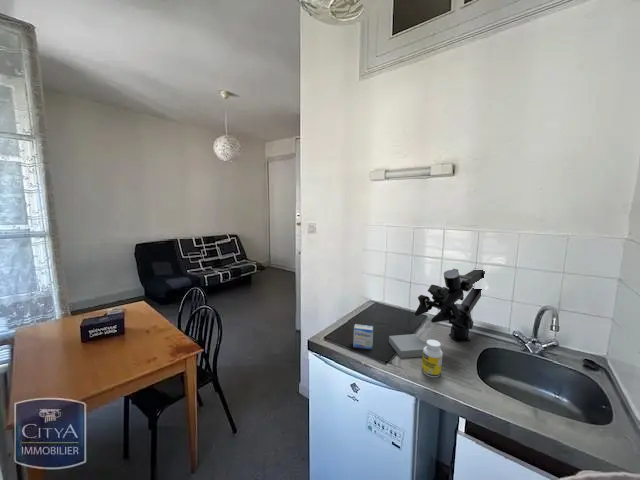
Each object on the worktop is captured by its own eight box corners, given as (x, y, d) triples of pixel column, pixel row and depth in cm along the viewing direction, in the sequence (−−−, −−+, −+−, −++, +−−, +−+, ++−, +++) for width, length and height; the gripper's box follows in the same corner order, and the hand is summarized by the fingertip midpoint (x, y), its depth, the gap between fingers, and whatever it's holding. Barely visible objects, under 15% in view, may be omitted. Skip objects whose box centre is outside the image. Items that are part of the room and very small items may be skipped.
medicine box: (353, 347, 118) (353, 328, 116) (354, 342, 122) (354, 323, 120) (372, 349, 116) (372, 330, 114) (372, 344, 120) (373, 325, 119)
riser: (414, 340, 123) (415, 334, 123) (429, 355, 112) (429, 348, 111) (388, 342, 122) (389, 336, 121) (400, 358, 110) (401, 351, 109)
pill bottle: (417, 369, 103) (419, 339, 101) (431, 365, 105) (433, 336, 103) (430, 380, 97) (432, 349, 95) (444, 375, 99) (447, 345, 97)
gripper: (426, 277, 122) (400, 296, 118) (462, 284, 105) (433, 306, 100) (435, 298, 125) (410, 318, 120) (471, 308, 107) (444, 332, 102)
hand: (423, 318), depth 110 cm, fingers open, 9 cm apart
